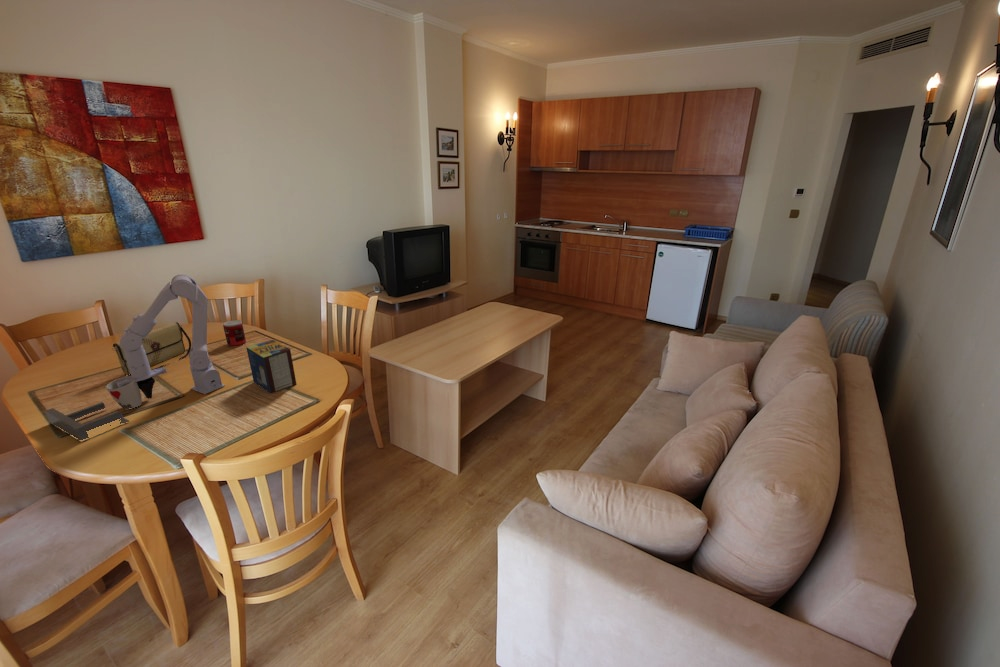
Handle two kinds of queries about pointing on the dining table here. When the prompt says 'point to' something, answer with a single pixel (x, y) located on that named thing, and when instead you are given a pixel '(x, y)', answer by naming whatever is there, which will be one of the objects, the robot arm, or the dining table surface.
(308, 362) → the dining table surface
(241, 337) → the canned food
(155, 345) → the clutch purse
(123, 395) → the cup
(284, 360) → the protein box
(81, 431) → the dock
